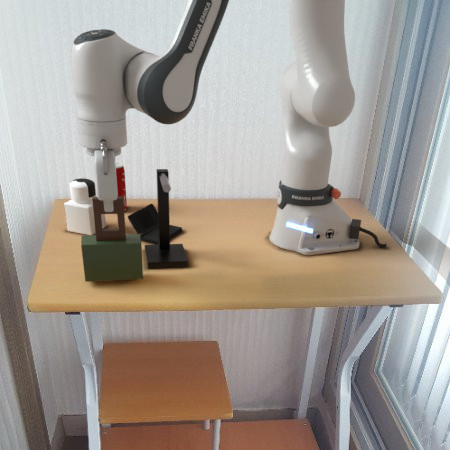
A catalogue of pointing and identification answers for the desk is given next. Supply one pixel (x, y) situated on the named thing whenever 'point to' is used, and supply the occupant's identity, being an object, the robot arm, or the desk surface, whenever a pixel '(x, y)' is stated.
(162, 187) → the peg stand
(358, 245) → the robot arm
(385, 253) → the desk surface
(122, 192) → the soda can
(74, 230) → the medicine bottle
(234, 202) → the desk surface
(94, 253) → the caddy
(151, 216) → the handheld gaming console
